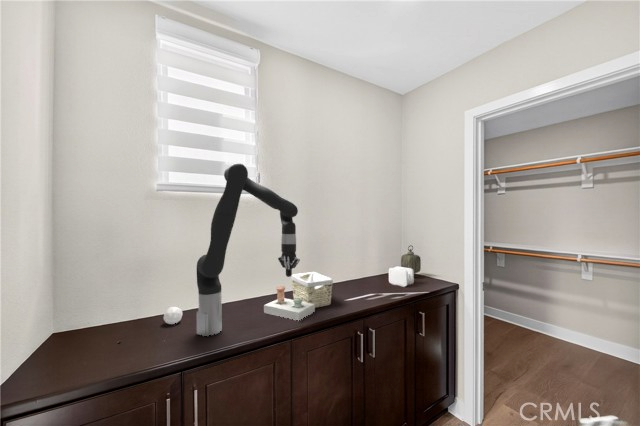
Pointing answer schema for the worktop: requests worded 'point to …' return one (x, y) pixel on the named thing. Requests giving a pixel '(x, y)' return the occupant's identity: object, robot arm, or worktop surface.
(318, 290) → the storage basket
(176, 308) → the geometric ball
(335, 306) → the worktop surface
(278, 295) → the terracotta plunger
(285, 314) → the panel
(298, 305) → the sage plunger
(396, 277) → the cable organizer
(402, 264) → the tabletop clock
